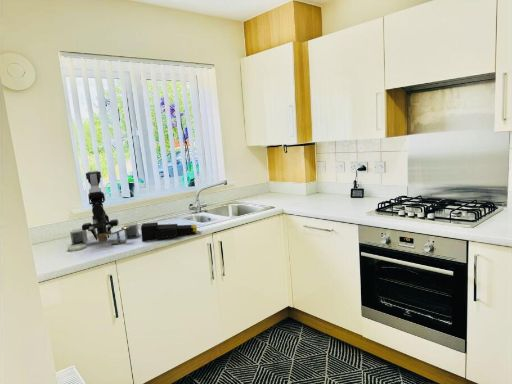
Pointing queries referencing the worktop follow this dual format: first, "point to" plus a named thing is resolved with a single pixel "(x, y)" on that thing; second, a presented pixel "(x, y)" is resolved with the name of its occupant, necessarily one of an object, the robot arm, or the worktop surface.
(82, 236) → the cover
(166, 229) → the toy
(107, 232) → the balance
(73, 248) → the dish
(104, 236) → the block
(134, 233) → the cover
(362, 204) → the worktop surface
